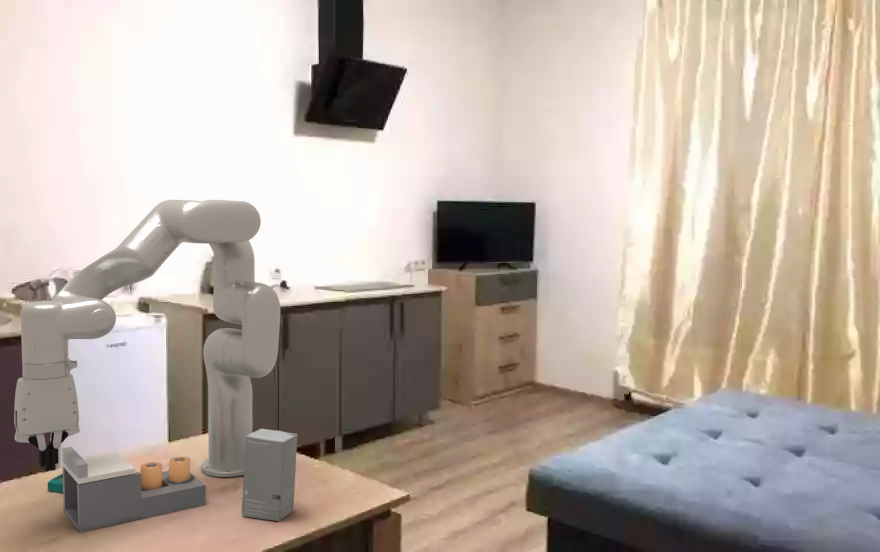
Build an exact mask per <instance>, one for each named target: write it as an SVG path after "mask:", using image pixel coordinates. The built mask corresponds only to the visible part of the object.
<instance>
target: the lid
mask: <svg viewBox="0 0 880 552" xmlns="http://www.w3.org/2000/svg"><path fill="white" fill-rule="evenodd" d="M61 450H62V451H61V452H62V468H63V467H64V468H65V469H66V470H67V471H68V473H69V474H70V475H71V476H72V477H73V478H74V480H75V481H76V482H77V483H78V484H82V483H87V482H93V481H98V480H103V479H108V478H114V477H119V476H124V475H130V474H135V473H136V467H135V466H134V465H133V464H131V463H130V462H129V461H128V460H127V459H125V457H124V456H122V455H121V453H119V452H118V451H112V452H107V453H101V454H96V455H89V456H84V457H82V456H81V455H80V454H79V453H78V452H77V451H76V450H75V449H74V447H72V446H67V447H62V449H61Z"/></svg>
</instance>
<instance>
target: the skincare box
mask: <svg viewBox="0 0 880 552" xmlns="http://www.w3.org/2000/svg"><path fill="white" fill-rule="evenodd" d="M297 448H298V433H291V432H286V431H283V430H273V429H266V428H259V429H258V430H255V431H252V433H251V434H249V435H247V436H246V446H245V463H244V475H243V484H242V499H241V500H242V502H241V515H242V517H245V518H253V519H260V520H268V521H275V522H281V521H282V520H283V519H284V518H286V517H287V516H288V515H290V514H291V513H293V511H294V503H295V488H296V487H295V486H296V485H295V484H296V467H297V452H298V451H297V450H298V449H297Z"/></svg>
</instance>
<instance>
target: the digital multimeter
mask: <svg viewBox="0 0 880 552" xmlns="http://www.w3.org/2000/svg"><path fill="white" fill-rule="evenodd" d="M47 491H48V492H51V493H59V494H63V473H61V474H59V475H57V476H55V477H53V478H51V479H50V480H49V481H48V482H47Z"/></svg>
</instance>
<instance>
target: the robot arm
mask: <svg viewBox="0 0 880 552" xmlns="http://www.w3.org/2000/svg"><path fill="white" fill-rule="evenodd" d="M261 223H262V222H261V216H260V212H259V210H257V208H256V207H255V206H254V205H253V204H252V203H251V202H247V201H244V200H224V199H207V200H192V199H191V200H189V199H188V200H187V199H166V200H163V201H161V202H160V203H158V204H157V205H156V206H154V207H153V208H152V209H151V210H150V212H149V213H147V215H145V217H144V218H143V219H142V220H141V221H140V222H139V223H138V225H137V226H136V227H135V228H134V229H133V230H131V232H130V233H129V234H128V235H127V236H126V237H125V238H124V239H123V240H122V241H121V243H120V244H119V245H118V246H117V247H115V248H114V249H113V250H111V251H109V252H108V253H106V254H103V256H101V257H100V258H98V259H96V260H95V261H93V262H92V263H90V264H88V265H86V267H83V268H82V269H81V270H80V271H79V272H77V273H76V274H75V275H74V276H73V277H72V278H70V279H69V280H68V282H67V283H66V284H65V285H64V286H63V287H62V288H61V289H60V290H59V291H58V292H57V293H56V295H55V296H54V297H53V299H52V300H40V301H39V300H38V301H31V302H27V303H25V304H24V305H22V308H21V310H20V331H21V332H20V334H21V335H20V336H21V361H22V362H21V364H22V365H21V366H22V377H19V378H18V379H17V381H16V387H15V394H14V395H15V396H14V409H13V411H14V415H13V416H14V417H13V418H14V421H13V422H14V428H15V434H14V437H13V438H14V440H15V442H17V443H27V444H29V443H30V444H31V445H33V446H34V447H35V448H37V449H38V452H37V453H38V465H39V467H42V469H43V470H44V471H45V473H46V472H50V471H51V472H52V471H55V470H56V465H57V464H59V448H60V447H61V445H62V444H63V443H64V441H65V440H67V438H68V437H72V436H73V435H76V434H79V433H80V431H81V428H80V424H79V421H80V411H79V402H78V395H77V387H76V383H75V379H74V376H73V374H72V373H71V371H72V370H73V369H77V368H78V362H77V360H71V359H70V358H69V340H95V339H100V338H103V337H104V336H107V334H109V333H111V331H112V330H113V329H114V327H115V325H116V322H117V315H116V312H115V310H114V308H113V307H112V305H110V303H108V302H107V301H104V300H103V299H104V298H106V297H107V296H109V295H110V294H112V293H113V292H115V291H117V290H119V289H122V288H125V287H126V286H128V287H129V286H130V285H135V284H136V283H140V282H142V281H144V280H145V281H146V280H147V279H149V278H151V277H153V276H154V275H155V274H156V272H157V271H158V270H159V268H161V266H163V264H164V263H165V262H166V260H167V259H168V258H169V257H170V256H171V255H172V253H174V251H175V250H176V249H177V248H178V247H179V246H180V245H181V244H182V243H186V244H189V243H190V244H204V245H205V244H209V247H210V248H211V250H212V253H213V256H214V278H213V279H214V282H213V296H212V297H213V299H212V308H213V313H214V314H215V316H216V317H217V318H218V319H219V320H222V321H224V322H227V323H231V324H237V325H241V326H242V327H241V328H242V329H238V328H231V327H230V328H229V327H225V328H224V327H223V328H218V329H216V330H214V331H213V332H211V333H210V334H209V335H208V336H207V338H206V339H205V342H204V344H203V351H202V352H203V353H202V354H203V361H204V366H205V371H206V376H207V389H208V390H207V392H208V393H207V396H208V397H207V400H208V401H207V402H208V403H207V404H208V405H207V408H208V409H207V410H208V411H207V414H208V417H207V418H208V422H207V423H208V425H207V426H208V431H207V433H208V434H207V435H208V458H207V459H206V460H204V461H203V462H202V463H201V467H200V468H201V472H203V473H204V474H205V475H207V476H210V477H211V476H212V477H217V478H233V477H242V476H244V463H245V446H246V436H247V435H249V434H251V433H253V384H252V382H251V378H254V379H256V378H257V379H259V378H264V377H266V376H267V375H269V374H270V373H271V372H272V370H273V369H274V367H275V365H276V363H277V362H276V361H277V360H278V353H279V341H280V327H281V326H280V325H281V303H280V298H279V296H278V294H277V292H276V290H275V289H273V287H271V286H270V285H268V284H266V283H262V282H256V281H255V279H256V278H255V269H256V268H255V266H256V265H255V264H256V263H255V253H254V249H253V246H252V244H251V242H250V240H251V239H252V240H253V238H254V237H255V236H256V235H257V234H258V232H259V231H260V227H261ZM46 434H50V438H49V442H48V445H47V444H46V438H45V435H46Z"/></svg>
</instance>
